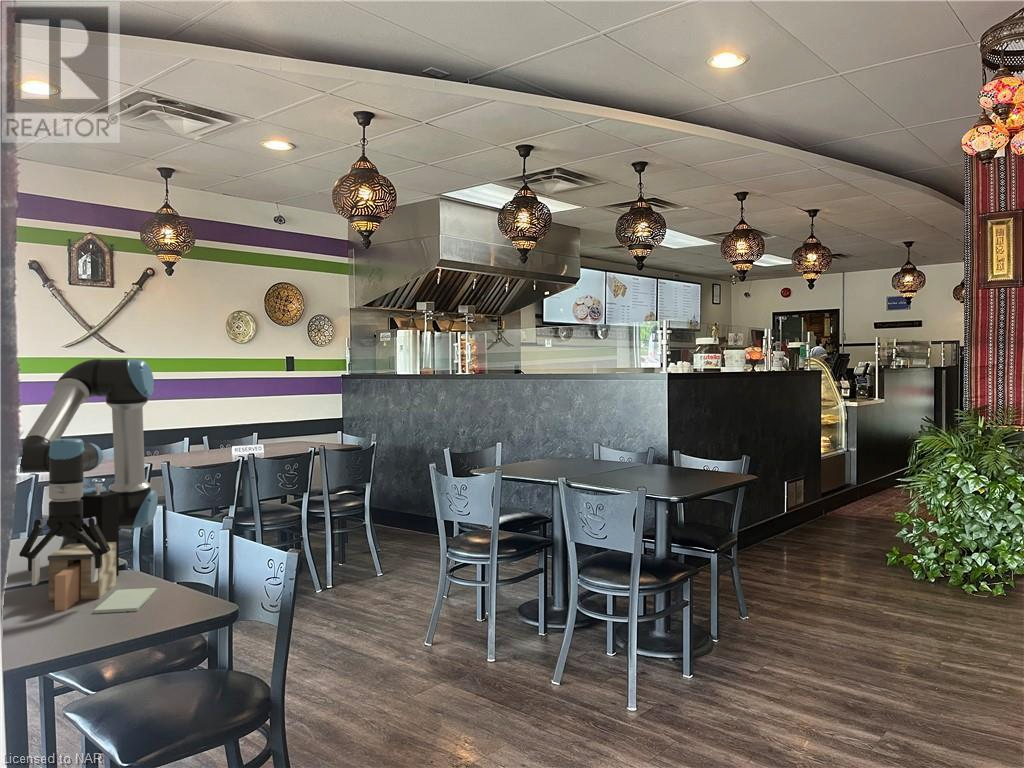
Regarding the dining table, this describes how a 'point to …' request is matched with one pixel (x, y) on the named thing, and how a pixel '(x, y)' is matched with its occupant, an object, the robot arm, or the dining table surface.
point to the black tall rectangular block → (103, 516)
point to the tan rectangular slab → (68, 586)
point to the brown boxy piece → (84, 569)
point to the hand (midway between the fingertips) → (65, 582)
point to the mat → (125, 600)
